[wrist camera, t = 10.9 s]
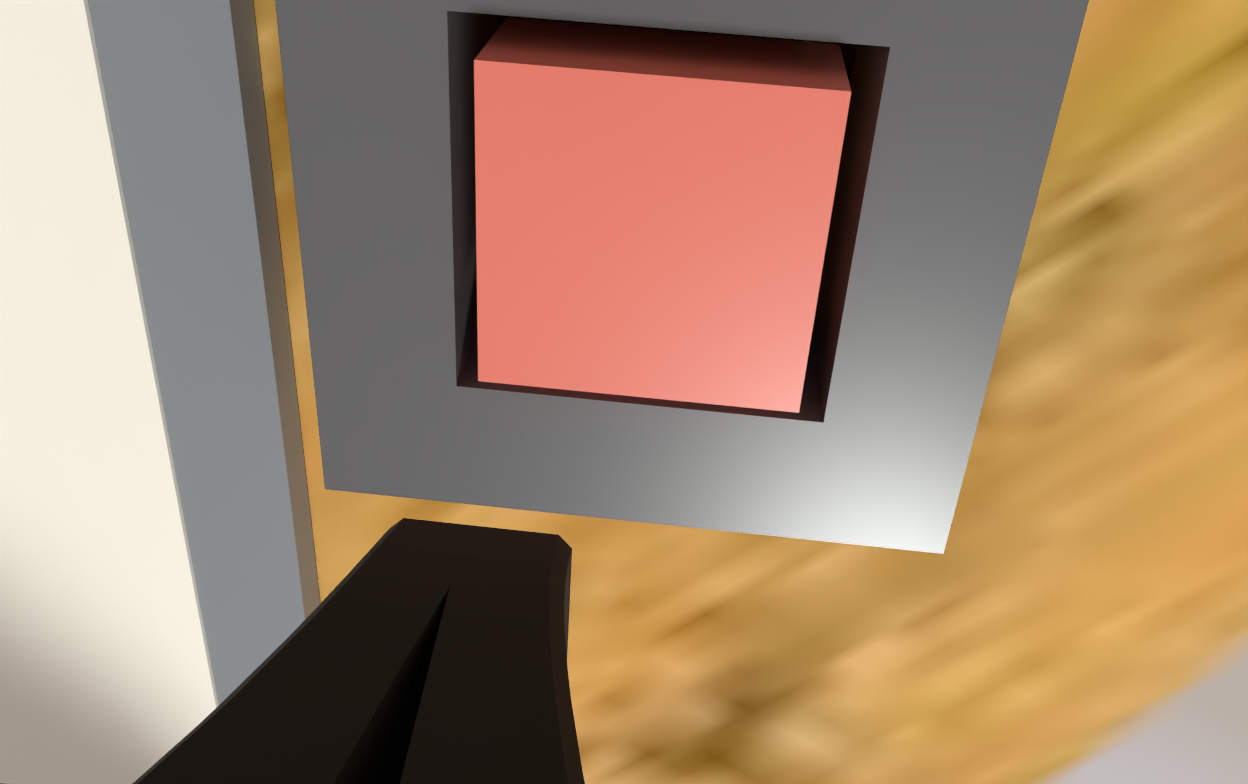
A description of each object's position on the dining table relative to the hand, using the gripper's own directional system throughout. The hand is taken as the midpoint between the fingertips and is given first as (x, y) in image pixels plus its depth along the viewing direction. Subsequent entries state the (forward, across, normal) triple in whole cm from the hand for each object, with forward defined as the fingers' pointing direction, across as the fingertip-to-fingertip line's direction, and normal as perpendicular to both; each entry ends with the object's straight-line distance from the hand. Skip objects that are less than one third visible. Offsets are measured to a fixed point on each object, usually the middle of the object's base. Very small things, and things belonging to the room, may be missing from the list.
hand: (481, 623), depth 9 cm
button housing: (+9, -1, -1) cm, 9 cm away
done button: (+8, -1, -1) cm, 8 cm away
